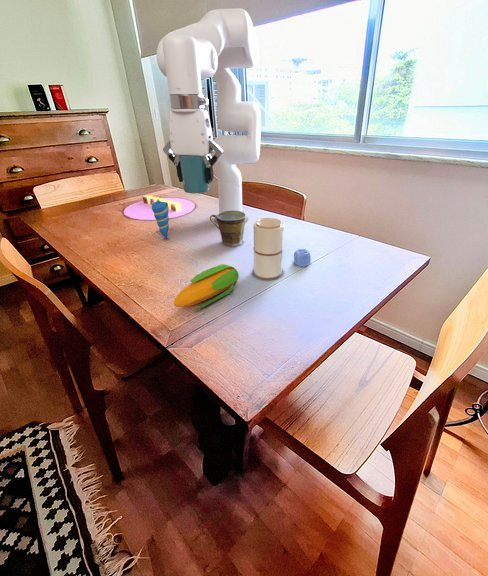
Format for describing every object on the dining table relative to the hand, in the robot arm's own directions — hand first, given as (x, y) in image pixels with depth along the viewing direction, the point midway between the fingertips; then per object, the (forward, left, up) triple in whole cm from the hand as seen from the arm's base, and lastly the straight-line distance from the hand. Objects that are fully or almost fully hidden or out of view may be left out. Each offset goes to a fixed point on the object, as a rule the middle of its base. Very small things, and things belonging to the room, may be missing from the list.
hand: (196, 181), depth 80 cm
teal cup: (0, 0, -2) cm, 2 cm away
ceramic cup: (-16, +3, -25) cm, 29 cm away
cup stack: (+2, +21, -24) cm, 32 cm away
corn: (+19, +9, -25) cm, 32 cm away
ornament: (-13, -20, -25) cm, 34 cm away
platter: (-45, -40, -24) cm, 65 cm away
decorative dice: (-6, +30, -25) cm, 39 cm away
